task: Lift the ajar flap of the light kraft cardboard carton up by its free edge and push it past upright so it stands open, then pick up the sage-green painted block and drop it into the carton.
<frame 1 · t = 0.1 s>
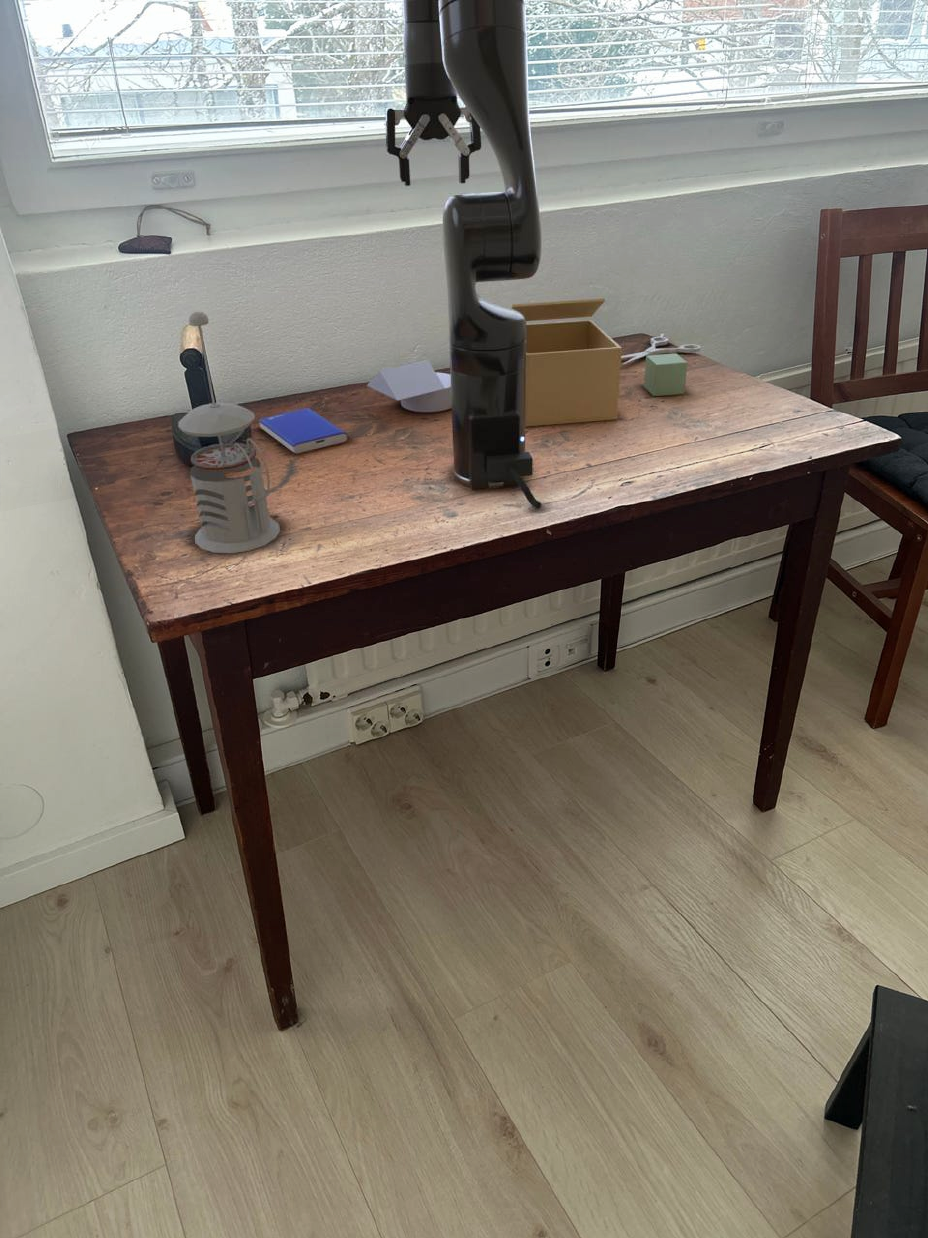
hand: (435, 183, 138), 29 cm above the table, tool pointing down, fingers open, 8 cm apart
wedge on round base: (419, 406, 140), on the table
carton: (557, 405, 138), on the table
hard drive: (303, 436, 130), on the table
block: (663, 390, 142), on the table
flap: (553, 310, 134), point 13 cm above the table, hinge at 30.0°
french press: (242, 536, 103), on the table
scissors: (649, 354, 159), on the table
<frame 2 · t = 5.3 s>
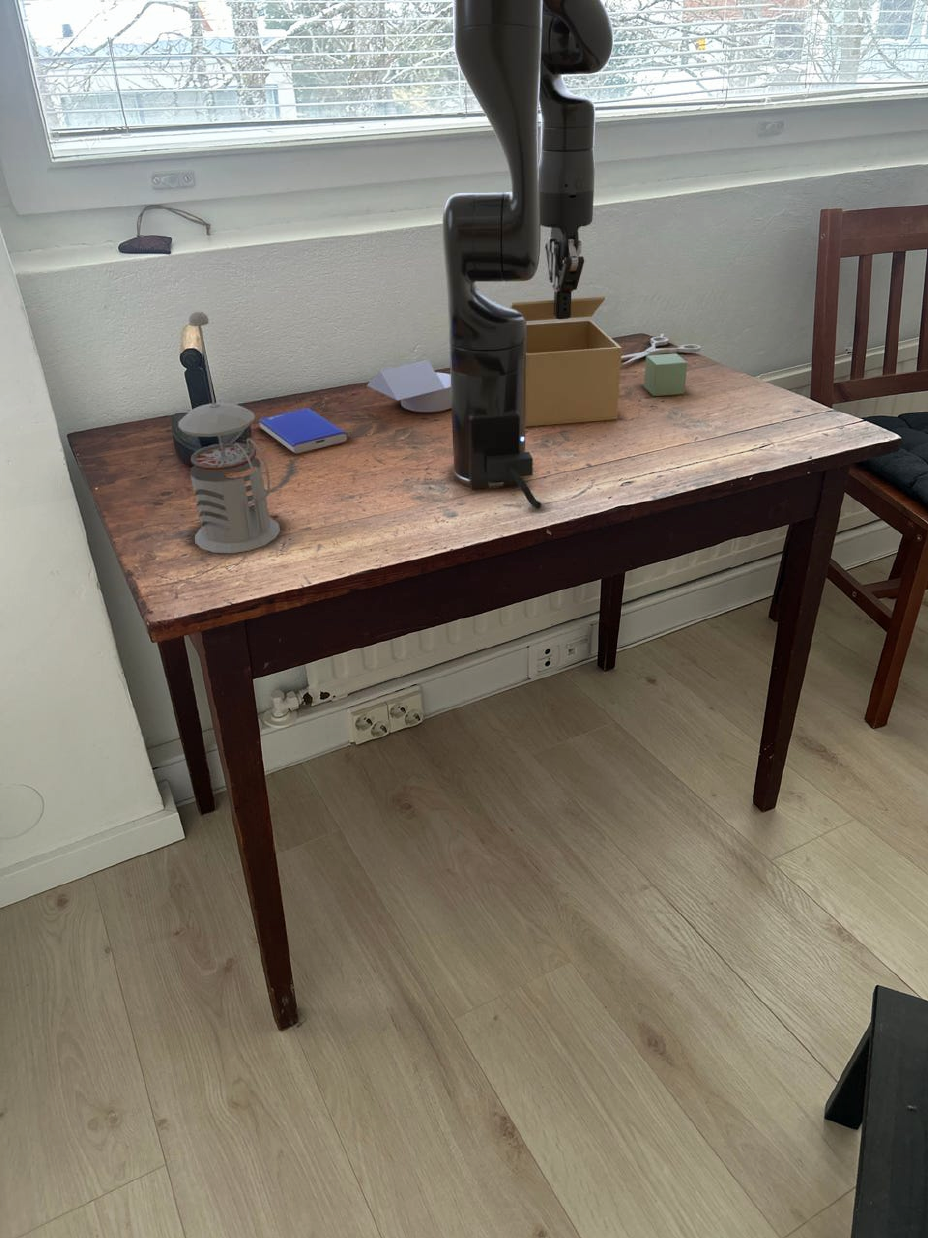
hand: (562, 317, 130), 13 cm above the table, tool pointing down, fingers closed
flap: (553, 309, 134), point 13 cm above the table, hinge at 31.8°, touching gripper
everything else where it was.
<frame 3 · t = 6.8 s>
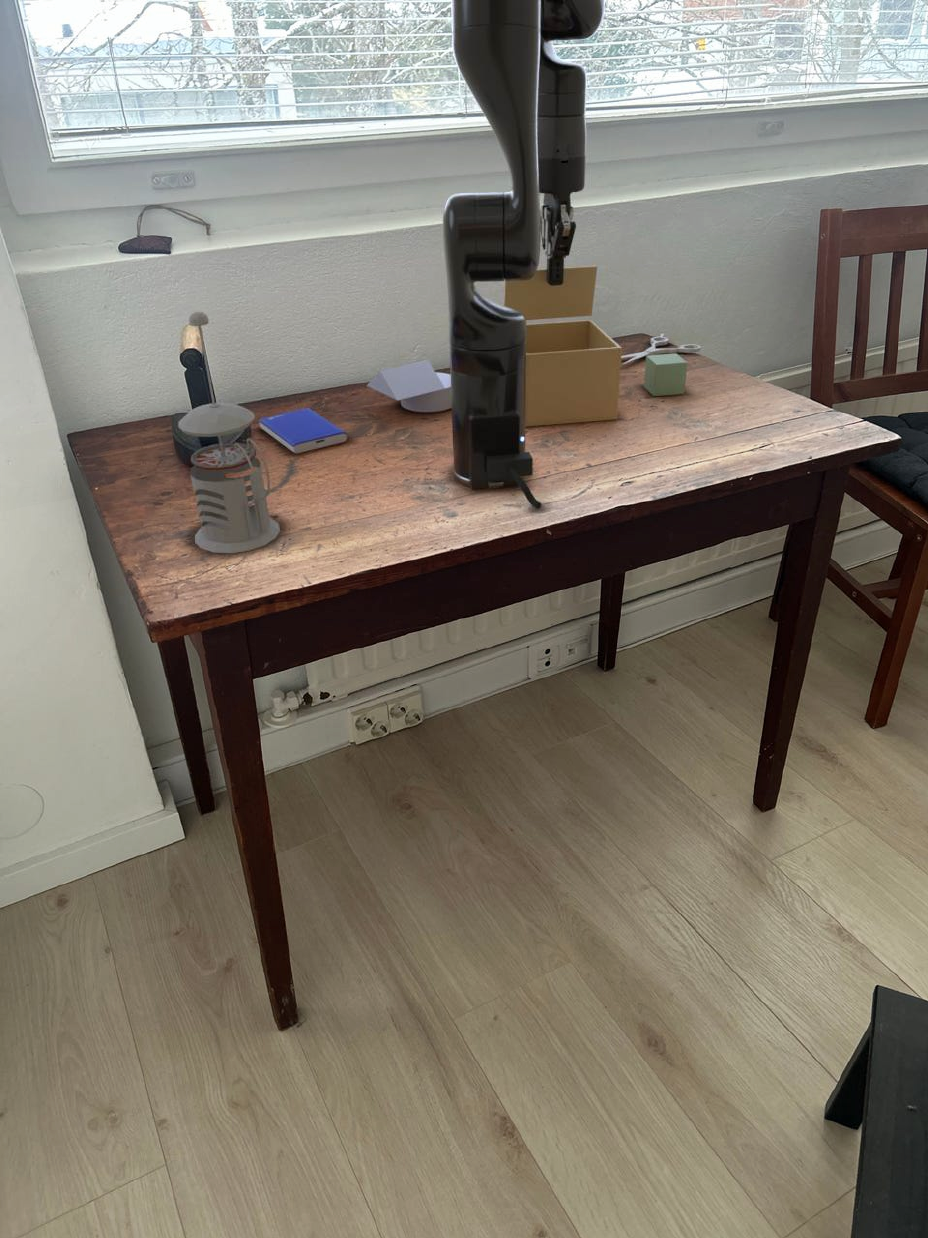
hand: (554, 284, 132), 17 cm above the table, tool pointing down, fingers closed
flap: (549, 293, 135), point 15 cm above the table, hinge at 76.7°, touching gripper
everything else where it was.
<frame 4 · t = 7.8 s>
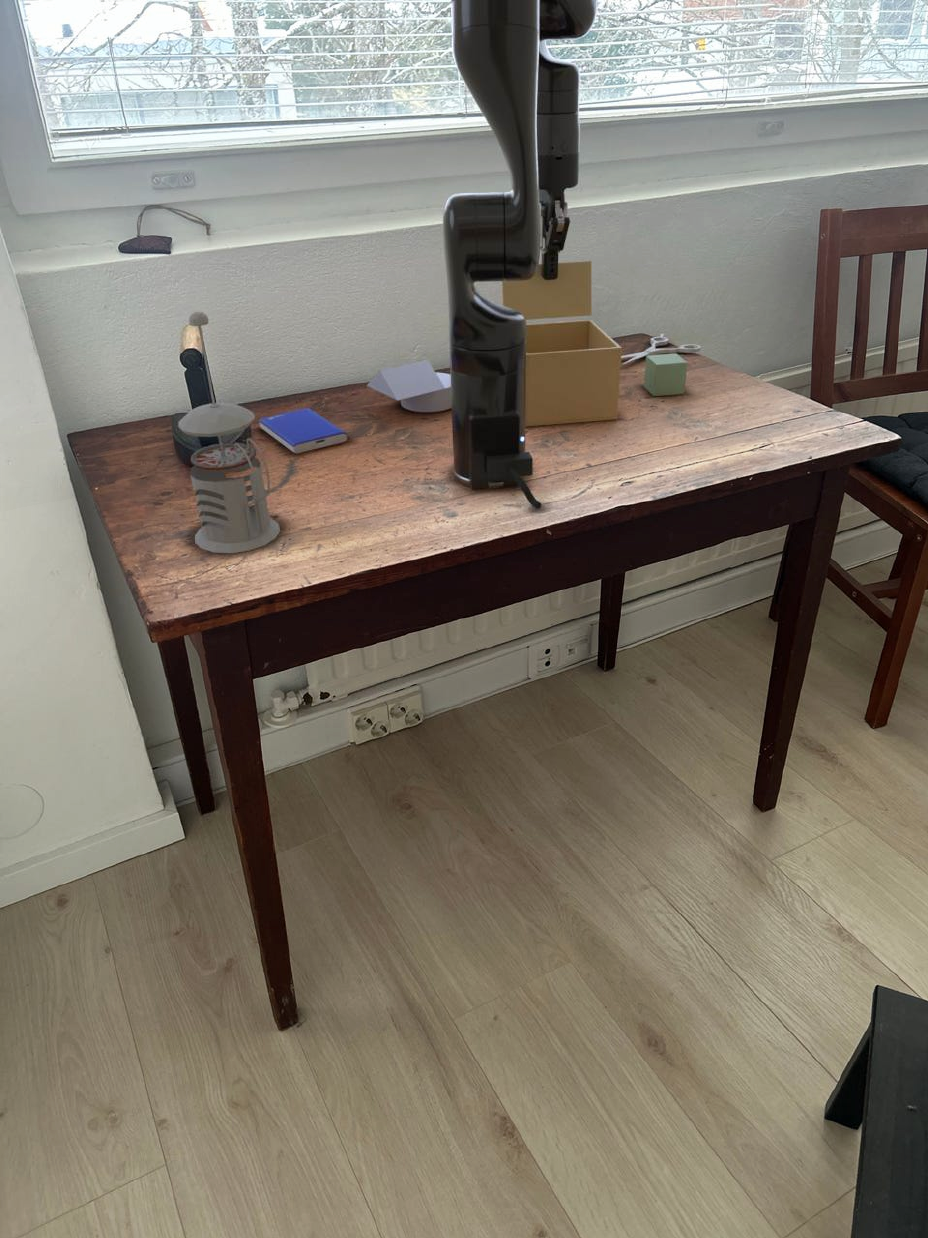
hand: (549, 278, 135), 17 cm above the table, tool pointing down, fingers closed
flap: (547, 291, 137), point 15 cm above the table, hinge at 100.6°, touching gripper
everything else where it was.
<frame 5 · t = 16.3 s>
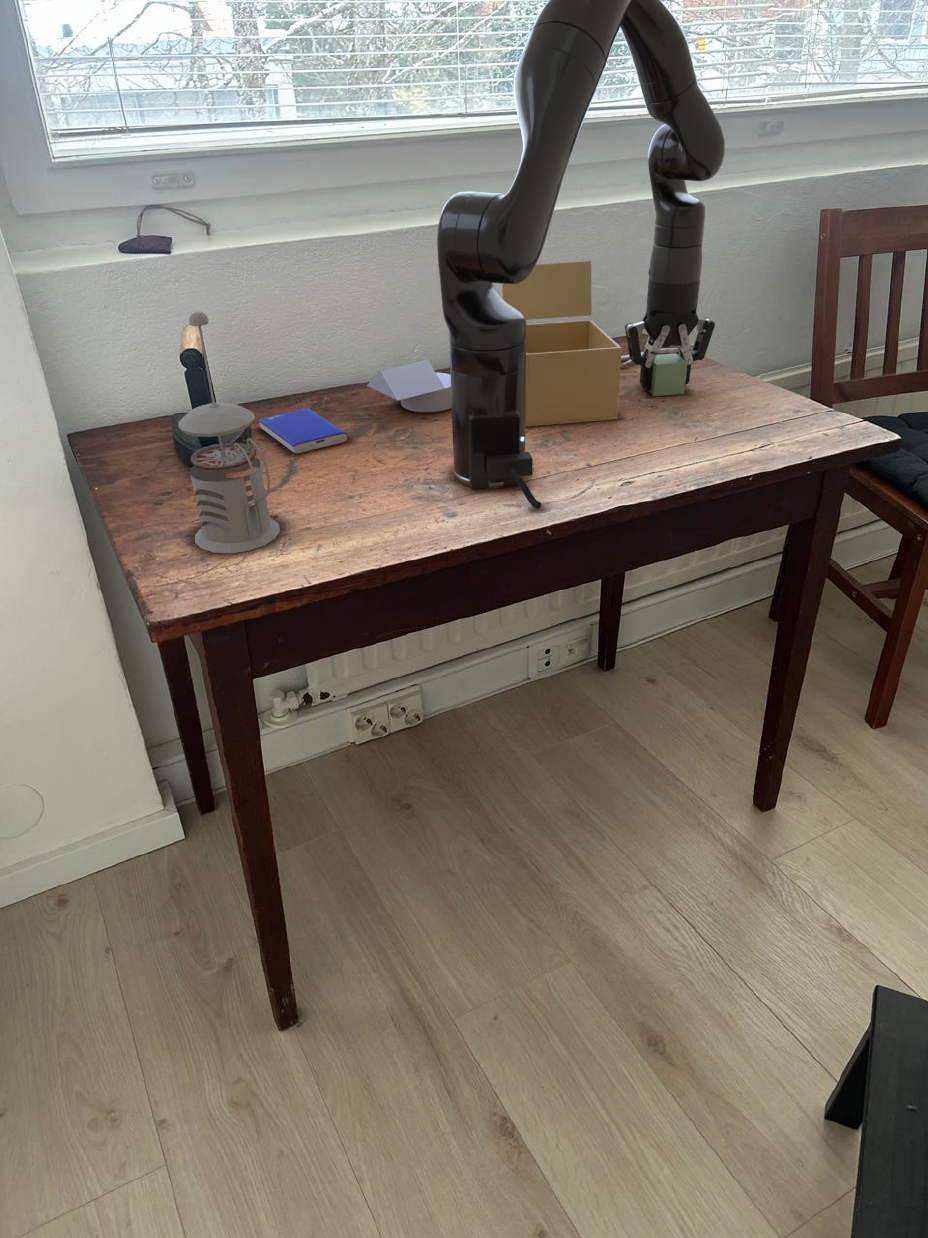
hand: (664, 387, 142), 0 cm above the table, tool pointing down, fingers closed on block, 5 cm apart
block: (663, 390, 142), on the table, touching gripper
flap: (547, 291, 137), point 15 cm above the table, hinge at 101.1°
everything else where it was.
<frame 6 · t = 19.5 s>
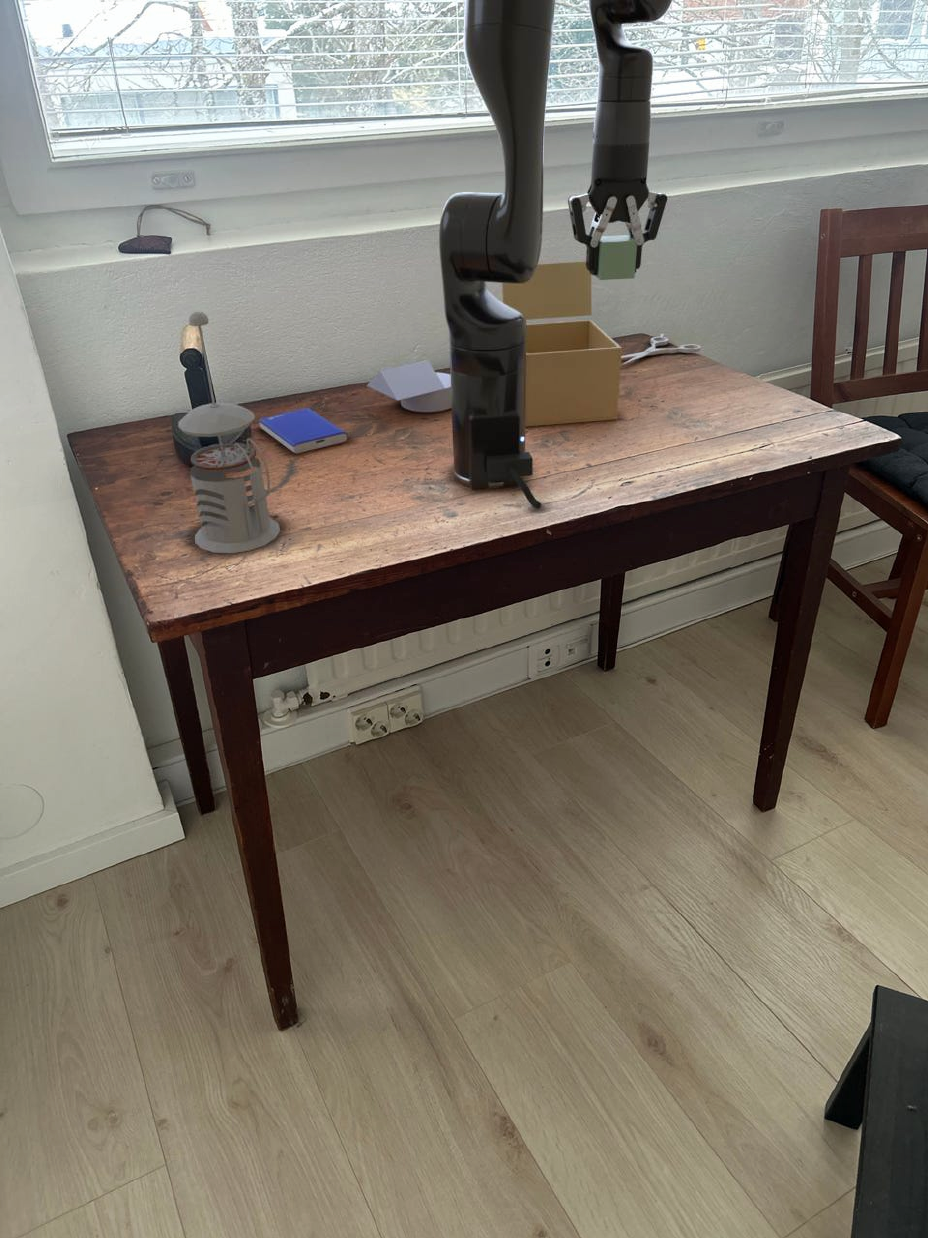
hand: (612, 272, 129), 19 cm above the table, tool pointing down, fingers closed on block, 5 cm apart
block: (612, 275, 129), point 18 cm above the table, touching gripper
everything else where it was.
when the fingers open (10 cm above the table, at t = 23.0 s): block drops 9 cm, resting on carton.
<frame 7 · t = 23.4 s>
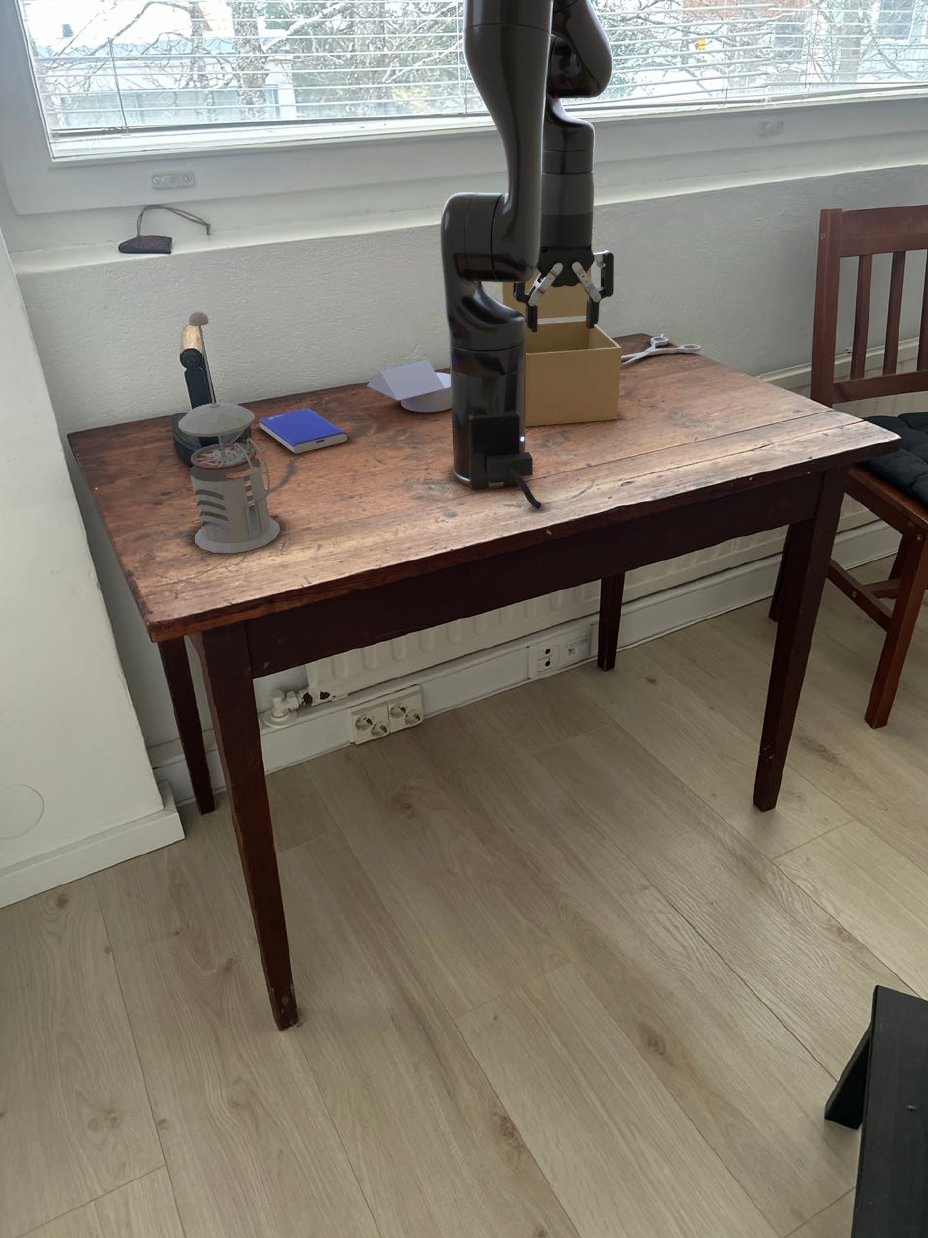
hand: (561, 329, 130), 12 cm above the table, tool pointing down, fingers open, 8 cm apart
block: (559, 404, 137), resting on carton
everything else where it was.
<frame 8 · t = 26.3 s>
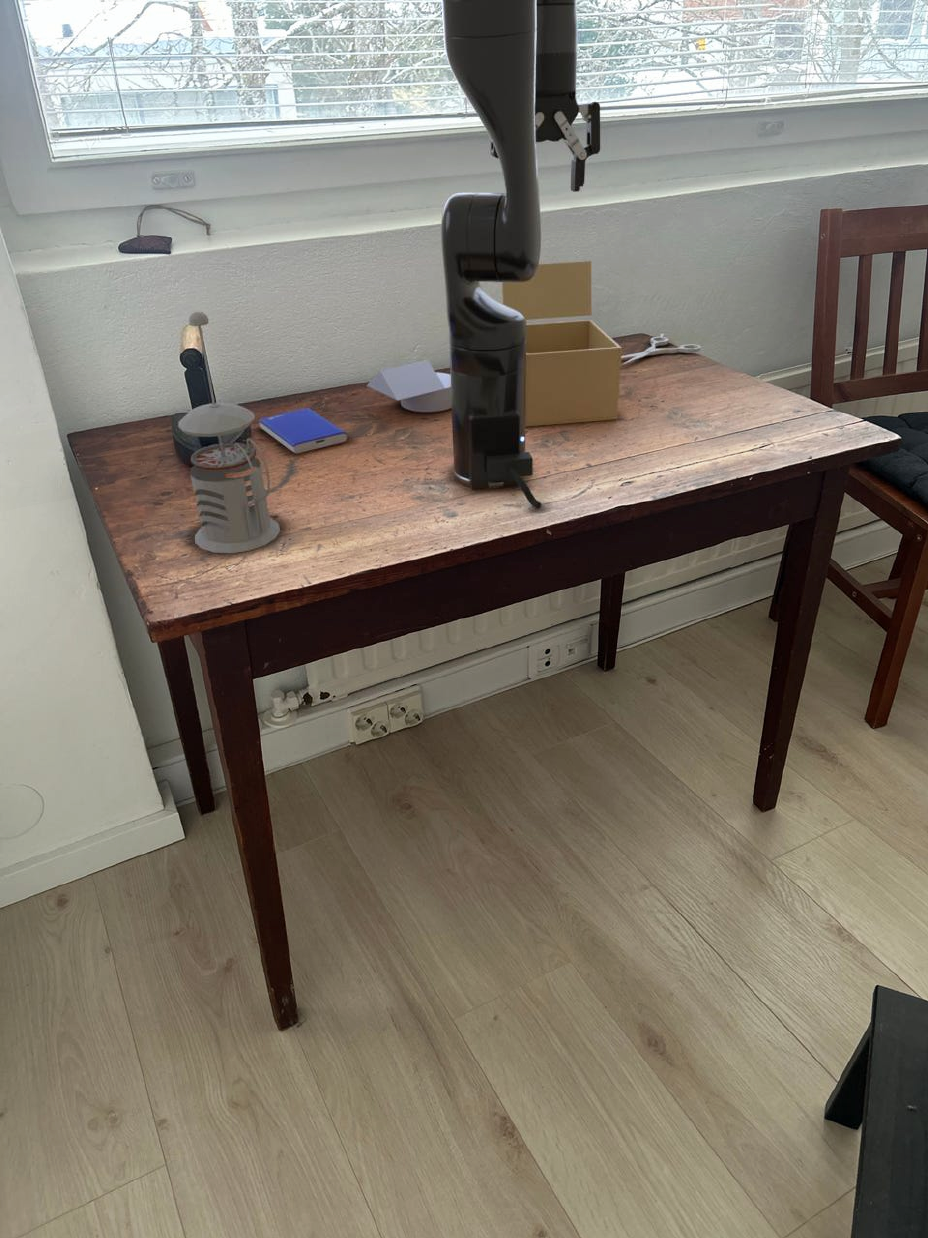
hand: (544, 192, 120), 30 cm above the table, tool pointing down, fingers open, 8 cm apart
nothing on the table moved.
at the end: flap at +101° (first picture: +30°); block inside the target area in the carton (1.0 cm from its centre), point 0.5 cm above the carton's base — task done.
